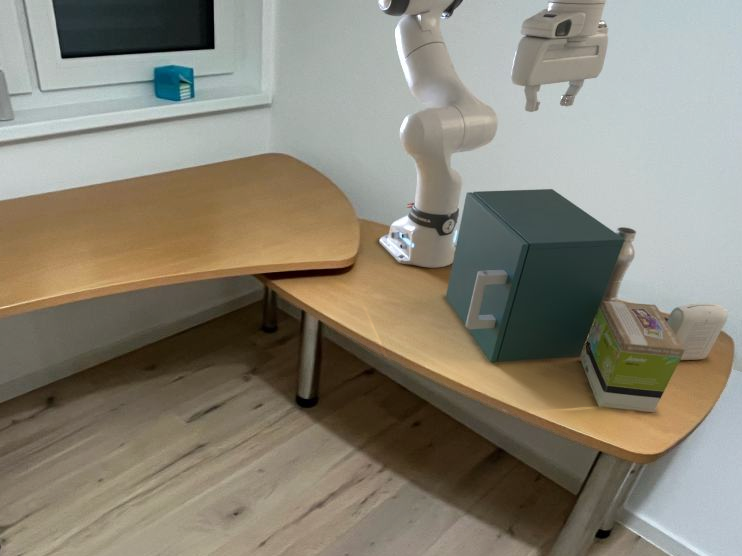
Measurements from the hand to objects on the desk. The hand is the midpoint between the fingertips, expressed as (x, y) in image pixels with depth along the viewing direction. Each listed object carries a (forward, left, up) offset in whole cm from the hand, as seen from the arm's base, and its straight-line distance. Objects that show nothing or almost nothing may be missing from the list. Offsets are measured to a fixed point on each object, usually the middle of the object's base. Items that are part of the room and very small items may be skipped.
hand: (548, 108), depth 104 cm
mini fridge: (+4, +1, -45) cm, 45 cm away
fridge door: (0, -11, -45) cm, 46 cm away
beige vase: (+8, +24, -45) cm, 52 cm away
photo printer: (+28, +24, -45) cm, 59 cm away
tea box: (+29, +3, -45) cm, 54 cm away
